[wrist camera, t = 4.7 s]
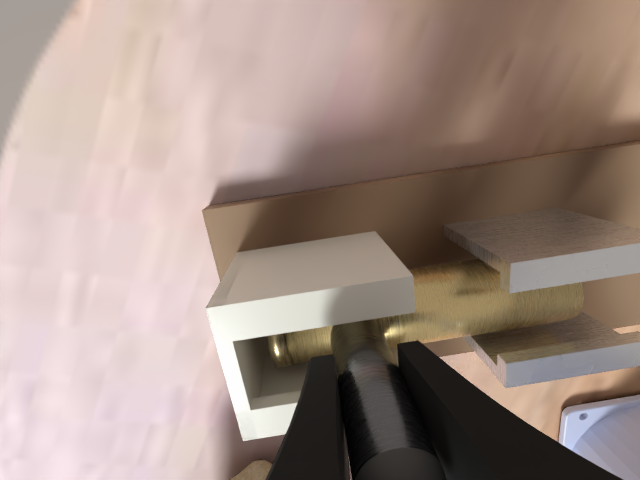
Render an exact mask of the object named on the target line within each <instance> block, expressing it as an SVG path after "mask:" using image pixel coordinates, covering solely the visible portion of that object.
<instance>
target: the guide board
mask: <svg viewBox="0 0 640 480" xmlns="http://www.w3.org/2000/svg"><path fill="white" fill-rule="evenodd" d="M202 213H203V217H204V221H205V224H206V228H207V232H208V236H209V240H210V244H211V248H212V251H213V255H214V259H215V263H216V267H217V271H218V275H219V279H220V282H221V280H222V278H223V276H224V275H225V273H226V271H227V269H228V267H229V266H230V264H231V262H232V260H233V258H234V257H235V255H236V253H237V252H243V251H249V250H256V249H262V248H268V247H275V246H281V245H288V244H294V243H301V242H307V241H314V240H320V239H327V238H333V237H340V236H346V235H353V234H359V233H366V232H372V231H376V232H377V234H378V235H379V236H380V237H381V238H382V239H383V241H384V242H385V243H386V244H387V245H388V247H389V248H390V249H391V250H392V251H393V252H394V254H395V255H396V256H397V257H398V258H399V259H400V261H401V262H402V263H403V264H404V265H405V266H406V268H407V269H415V268H421V267H427V266H434V265H440V264H446V263H453V262H459V261H466V260H472V259H478V258H479V259H481V260H482V261H484V262H485V263H487V264H488V265H490V266H491V267H493V268H494V269H496V270H497V271H499V272H500V287H501V288H502V289H504V290H505V291H507V292H508V293H509V294H510V293H516V292H522V291H529V290H535V289H541V288H548V287H554V286H560V285H566V284H573V283H579V282H582V284H583V289H584V302H583V306H582V309H581V311H580V313H579V314H578V315H577V316H576V317H575V318H573V319H570V320H565V321H559V322H552V323H546V324H540V325H534V326H528V327H521V328H515V329H509V330H503V331H497V332H490V333H484V334H478V335H472V336H466V337H459V338H453V339H447V340H441V341H435V342H428V343H422V344H424V345H425V346H426V347H427V348H428V349H430V350H431V351H432V352H433V353H434V354H436V355H437V356H438V357H442V356H448V355H454V354H460V353H466V352H472V351H475V352H476V354H477V355H478V356H479V357H480V358H481V359H482V361H483V362H484V363H485V364H486V365H487V367H488V368H489V369H490V370H491V371H492V373H493V374H494V375H495V376H496V377H497V379H498V380H499V381H500V382H501V383H502V385H503V386H504V387H505V388H509V387H515V386H521V385H528V384H534V383H540V382H546V381H552V380H558V379H564V378H570V377H576V376H582V375H588V374H594V373H600V372H606V371H613V370H619V369H625V368H631V367H637V366H640V332H638V331H637V332H631V333H625V334H619V333H617V332H616V331H614V330H612V329H614V328H620V327H626V326H633V325H639V324H640V140H639V141H632V142H626V143H619V144H612V145H606V146H599V147H593V148H586V149H579V150H573V151H566V152H560V153H553V154H546V155H540V156H533V157H527V158H520V159H514V160H507V161H500V162H494V163H487V164H481V165H474V166H467V167H461V168H454V169H448V170H441V171H434V172H428V173H421V174H415V175H408V176H401V177H395V178H388V179H382V180H375V181H368V182H362V183H355V184H349V185H342V186H335V187H329V188H322V189H316V190H309V191H302V192H296V193H289V194H283V195H276V196H269V197H263V198H256V199H250V200H243V201H236V202H230V203H223V204H217V205H210V206H207V207H206V208H205V209H203V210H202ZM396 349H397V348H396Z"/></svg>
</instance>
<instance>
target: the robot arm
mask: <svg viewBox="0 0 640 480" xmlns="http://www.w3.org/2000/svg"><path fill="white" fill-rule="evenodd" d="M397 352H398V365H399V369H400V372H401V374H402V376H403V378H404V381H405V383H406V385H407V387H408V390H409V392H410V394H411V397H412V399H413V401H414V403H415V406H416V408H417V410H418V412H419V415H420V417H421V419H422V421H423V424H424V426H425V428H426V431H427V433H428V435H429V437H430V440H431V442H432V444H433V446H434V449H435V451H436V453H437V455H438V458H439V460H440V462H441V465H442V467H443V469H444V472H445V475H446V479H447V480H640V395H635V396H629V397H623V398H617V399H611V400H605V401H599V402H593V403H586V404H580V405H574V406H569V407H567V408H565V409H564V410H563V412H562V416H561V425H560V434H559V443H558V442H557V441H555V440H553V439H552V438H550V437H549V436H547V435H545V434H544V433H542V432H540V431H539V430H537V429H536V428H534V427H533V426H531V425H529V424H528V423H526V422H525V421H523V420H522V419H520V418H519V417H517V416H516V415H515V414H513V413H512V412H510V411H509V410H507V409H506V408H504V407H503V406H501V405H500V404H499V403H497V402H496V401H495V400H493V399H492V398H490V397H489V396H488V395H486V394H485V393H484V392H482V391H481V390H480V389H478V388H477V387H476V386H474V385H473V384H472V383H470V382H469V381H468V380H467V379H465V378H464V377H463V376H461V375H460V374H459V373H458V372H456V371H455V370H454V369H453V368H451V367H450V366H449V365H448V364H447V363H445V362H444V361H443V360H442V359H440V358H439V357H438V356H437V355H436V354H434V353H433V352H432V351H431V350H430V349H428V348H427V347H426V346H425V345H424V344H422V343H421V342H420V341H418V340H417V341H411V342H405V343H398V344H397ZM265 480H350V474H349V460H348V449H347V442H346V436H345V430H344V423H343V417H342V409H341V402H340V395H339V389H338V382H337V376H336V369H335V363H334V357H333V354H330V355H323V356H317V357H312V358H311V359H310V360H309V361H308V366H307V371H306V376H305V380H304V384H303V387H302V390H301V394H300V397H299V400H298V403H297V405H296V408H295V411H294V414H293V417H292V420H291V422H290V425H289V427H288V430H287V432H286V434H285V437H284V439H283V442H282V444H281V446H280V449H279V451H278V453H277V456H276V458H275V460H274V462H273V464H272V467H271V469H270V471H269V473H268V475H267V477H266V479H265Z"/></svg>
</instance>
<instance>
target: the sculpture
mask: <svg viewBox="0 0 640 480" xmlns="http://www.w3.org/2000/svg"><path fill="white" fill-rule="evenodd" d="M271 467H272V464H271V463H270V462H268V461H265V460H260V461H254V462H252V463H250V464H249V465H248V466H247V467H246V468H245V469H243V470H242V471H241V472H240V473H239V474H237V475H236V476H234V477H233V478H232V479H230V480H265V479H266V477H267V475H268V473H269V471H270V469H271Z"/></svg>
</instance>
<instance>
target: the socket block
mask: <svg viewBox="0 0 640 480" xmlns="http://www.w3.org/2000/svg"><path fill="white" fill-rule="evenodd" d="M206 312H207V315H208V319H209V322H210V326H211V329H212V333H213V336H214V340H215V344H216V347H217V351H218V354H219V358H220V361H221V365H222V368H223V372H224V375H225V379H226V383H227V386H228V390H229V393H230V397H231V400H232V404H233V407H234V411H235V414H236V418H237V422H238V425H239V429H240V432H241V436H242V439H243V441H248V440H254V439H260V438H266V437H272V436H278V435H284V434H286V432H287V430H288V427H289V425H290V422H291V420H292V417H293V414H294V411H295V408H296V405H297V403H298V400H299V397H300V394H301V390H302V387H303V384H304V380H305V376H306V371H307V366H308V362H304V363H298V364H294V365H293V366H289V367H283V368H275V367H274V365H273V362H272V359H271V356H270V352H269V347H268V341H267V336H270V335H276V334H282V333H288V332H295V331H301V330H307V329H314V328H320V327H326V326H332V325H339V324H345V323H351V322H357V321H364V320H370V319H376V318H383V317H389V316H395V315H401V314H408V313H414V312H415V296H414V278H413V275H412V273H411V272H410V271H409V270H408V269H407V268H406V266H405V265H404V264H403V263H402V262H401V261H400V259H399V258H398V257H397V256H396V255H395V254H394V252H393V251H392V250H391V249H390V248H389V247H388V245H387V244H386V243H385V242H384V241H383V239H382V238H381V237H380V236H379V235H378V234H377V232H376V231H372V232H366V233H359V234H353V235H346V236H340V237H333V238H327V239H320V240H314V241H307V242H301V243H294V244H288V245H281V246H275V247H268V248H262V249H256V250H249V251H243V252H237V253H236V255H235V257H234V258H233V260H232V262H231V264H230V266H229V267H228V269H227V271H226V273H225V275H224V276H223V278H222V280H221V282H220V283H219V285H218V287H217V289H216V291H215V292H214V294H213V296H212V298H211V300H210V301H209V303H208V305H207V307H206ZM391 351H392V353H393V356H394V358H395V360H396V363H397V365H398V352H397V349H396V348H391ZM398 367H399V365H398Z"/></svg>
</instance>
